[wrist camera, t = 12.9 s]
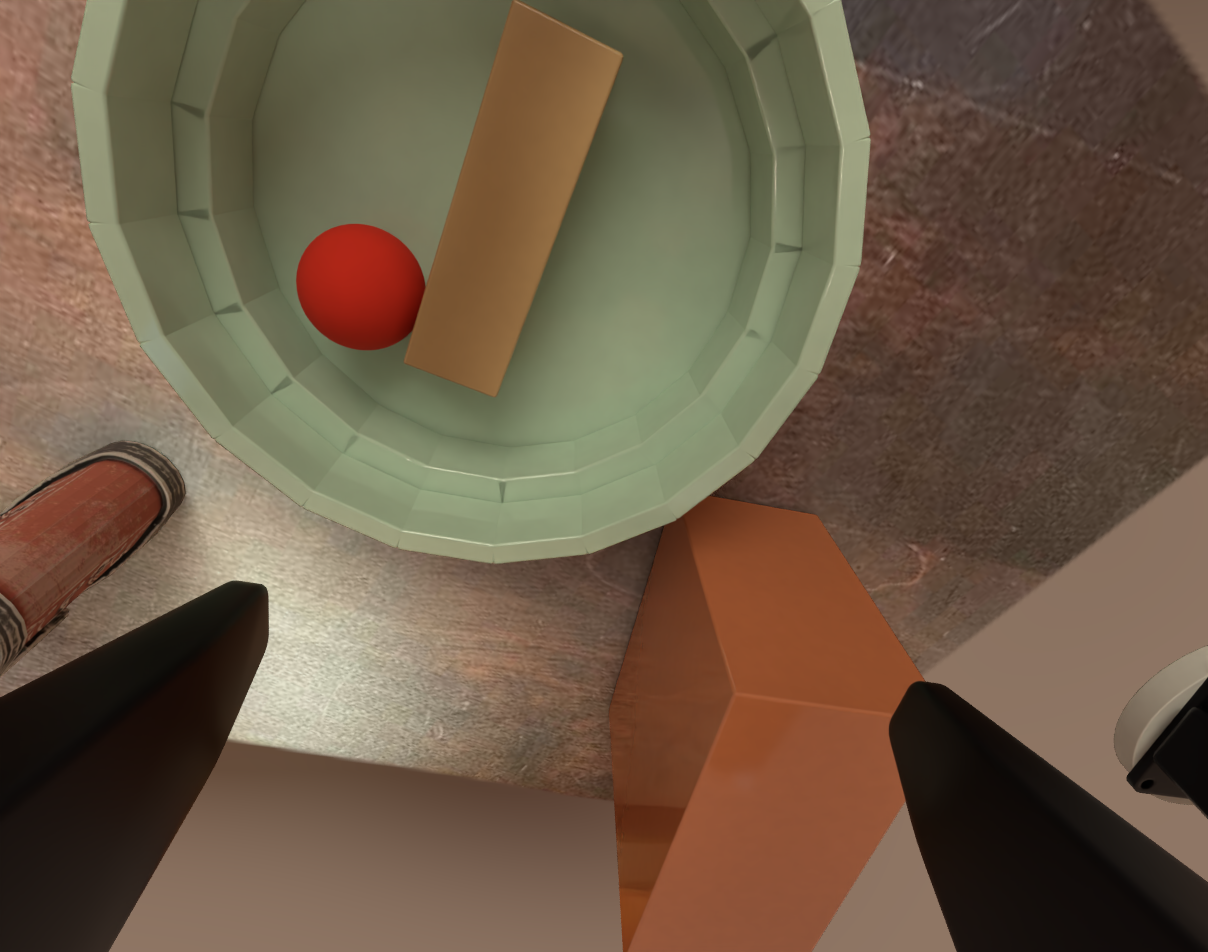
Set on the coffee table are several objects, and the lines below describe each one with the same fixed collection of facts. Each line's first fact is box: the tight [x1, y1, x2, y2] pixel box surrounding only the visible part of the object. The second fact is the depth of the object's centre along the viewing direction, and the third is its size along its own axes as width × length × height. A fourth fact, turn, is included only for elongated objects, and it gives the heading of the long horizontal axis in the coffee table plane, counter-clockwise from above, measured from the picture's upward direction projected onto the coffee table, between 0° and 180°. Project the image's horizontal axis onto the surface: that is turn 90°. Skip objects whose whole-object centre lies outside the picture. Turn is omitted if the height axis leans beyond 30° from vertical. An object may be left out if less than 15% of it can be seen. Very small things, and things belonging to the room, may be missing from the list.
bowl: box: [71, 0, 870, 564], centre depth 15 cm, size 15×15×5 cm
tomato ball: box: [296, 224, 426, 350], centre depth 16 cm, size 3×3×3 cm
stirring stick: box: [404, 0, 623, 397], centre depth 16 cm, size 2×8×3 cm, turn 157°
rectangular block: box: [609, 496, 926, 952], centre depth 20 cm, size 5×10×9 cm, turn 168°
